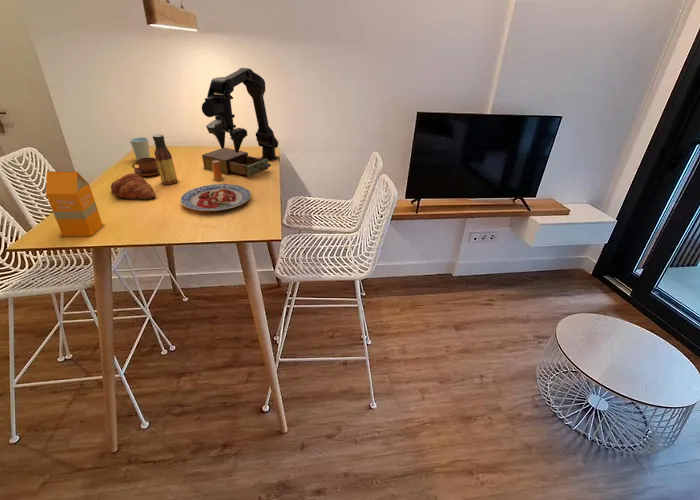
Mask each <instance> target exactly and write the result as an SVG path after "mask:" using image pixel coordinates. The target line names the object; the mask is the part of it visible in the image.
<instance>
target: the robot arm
mask: <svg viewBox="0 0 700 500" xmlns="http://www.w3.org/2000/svg"><path fill="white" fill-rule="evenodd" d="M240 84H243V85H244V86H245V89H246V91H247V93H248V95H249V96H250V97H251V99H252V103H253V107H254V113H255V118H256V122H257V127H258V128H257V131H256V132H255V138H256V141H257V145H258V147H261V148H262V149H261V153H262V157H261V156H260V159H263V160H264V159H268V162H270V161H274V160H276V159H278V158H279V156H277V155H276V149H277V148H278V147H279V140H278V139H277V137H276V136H275V133H274V130H272V128H271V127H270V126H269V119H268V115H267V108H266V105H265V99H264V95H265V92H266V81H265V79H264V78H263V77H262V76H261V75H259V73H256V72H254V71H253V69H252V68H248V67H240V68H238V70H236V71H233V72H232V73H230V74H228V75H226V76H219V77H218V76H217V77H213V78H212V79H211V81H210V84H209V88H208V91H207V95H206V97H205V98H204V101H203V103H202V104H201V112H202V113H203V116H205V117H207V118H213V117H214V120H212V121H210V122H209V123H207V124H206V125H205V127H206V130H207V132H208V134H211V135H212V136H213V135H214V137H215V138H216V140H217V142H218V144H219V146H220V149H223V148H225V144H226V133H227V134H228V133H229V136H230V137H229V139H230V140H231V141H232V143H233V147H234V148H233V149H234V150H235V152H236V153H238V152H239V151H240V150H241V146H242V143H243V141H244V139H245V138H246V137H248V130H247V129H246V128H242V127H237V125H236V124H234V118H236V116H235V114H234V113H233V108H232V100H233V99H234V97H233V95H231V94H232V93H233V92H234V91H235V87H237V86H238V85H240Z"/></svg>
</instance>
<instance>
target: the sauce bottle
mask: <svg viewBox="0 0 700 500" xmlns="http://www.w3.org/2000/svg"><path fill="white" fill-rule="evenodd" d="M152 140H153V141H154V146H155V149H154V158H155V159H156V162H157V166H158V170H159V177H160V181H161V182H162V184H163V185H174V184H176V183H177V182H178V175H177V172H176V168H175V164H174V159H173V156H172V154H171V151H170V150H169V149H168V147H167V144H166V142H165V137H164V134H160V133H159V134H158V133H157V134H153V135H152Z"/></svg>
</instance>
